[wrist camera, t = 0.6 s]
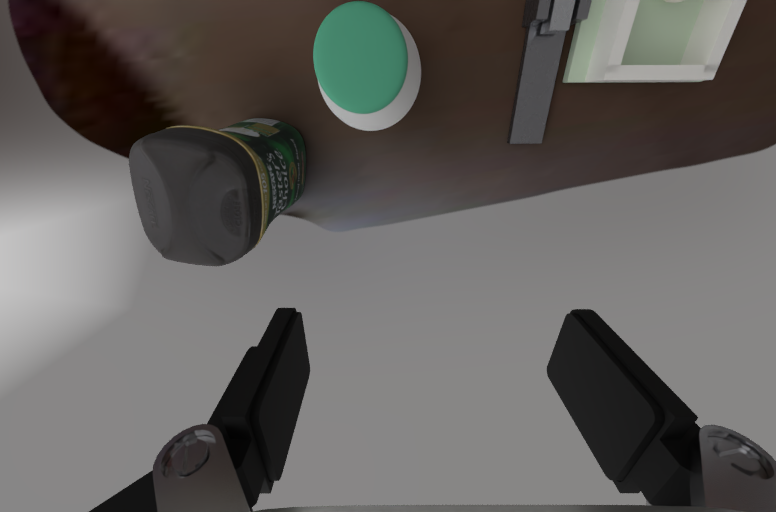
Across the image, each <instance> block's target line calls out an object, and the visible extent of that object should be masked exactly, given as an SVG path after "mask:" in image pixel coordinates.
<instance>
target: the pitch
mask: <svg viewBox="0 0 776 512" xmlns="http://www.w3.org/2000/svg"><path fill="white" fill-rule="evenodd" d="M703 1H704V0H685V1H681V2H677V3H669V2H665V1H663V0H640V2H639V5H638V8H637V12H636V15H635V19H634V22H633V25H632V29H631V32H630V35H629V39H628V42H627V45H626V49H625V52H624V55H623V59H622V62H621V65H680V62H681V60H682V57H683V54H684V52H685V49H686V46H687V44H688V41H689V38H690V36H691V33H692V30H693V28H694V25H695V22H696V20H697V17H698V14H699V12H700V9H701V6H702V4H703ZM605 2H606V0H592V2H591V6H590V10H589V14H588V18H587V19H586V20H584V21H581V22H579V23H576V25H575V29H574V34H573V38H572V43H571V47H570V51H569V56H568V60H567V64H566V69H565V73H564V77H563V82H562V83H604V82H585V79H586V75H587V71H588V67H589V63H590V60H591V56H592V52H593V48H594V44H595V40H596V36H597V33H598V29H599V25H600V21H601V17H602V13H603V9H604V5H605ZM686 82H702V80H701V81H686Z"/></svg>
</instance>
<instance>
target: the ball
mask: <svg viewBox="0 0 776 512" xmlns="http://www.w3.org/2000/svg"><path fill="white" fill-rule="evenodd" d="M663 1H665V2H669V3H677V2H681V1H685V0H663Z"/></svg>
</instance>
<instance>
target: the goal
mask: <svg viewBox="0 0 776 512" xmlns="http://www.w3.org/2000/svg"><path fill="white" fill-rule="evenodd" d="M746 1H747V0H704V1H703V4H702V6H701V9H700V12H699V14H698V17H697V20H696V22H695V25H694V28H693V30H692V33H691V36H690V38H689V41H688V44H687V46H686V49H685V52H684V54H683V57H682V60H681V62H680V65H621V62H622V59H623V55H624V52H625V49H626V45H627V42H628V39H629V35H630V32H631V29H632V25H633V22H634V19H635V15H636V12H637V8H638V5H639V2H640V0H606V2H605V5H604V9H603V13H602V17H601V21H600V25H599V29H598V33H597V36H596V40H595V44H594V48H593V52H592V56H591V60H590V63H589V67H588V71H587V75H586V79H585V82H686V81H701V80H713V78H714V76H715V74H716V71H717V69H718V67H719V64H720V62H721V59H722V57H723V55H724V52H725V50H726V48H727V45H728V43H729V41H730V38H731V36H732V34H733V31H734V29H735V27H736V24H737V22H738V20H739V17H740V15H741V13H742V10H743V8H744V6H745V3H746Z"/></svg>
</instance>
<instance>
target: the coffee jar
mask: <svg viewBox="0 0 776 512" xmlns="http://www.w3.org/2000/svg"><path fill="white" fill-rule="evenodd" d="M129 166H130V173H131V179H132V185H133V190H134V195H135V199H136V203H137V208H138V211H139V215H140V218H141V222H142V225H143V227H144V231H145V233H146V235H147V237H148V239H149V240H150V242H151V243H152V244H153V246H154V247H155V248H156V249H157V250H158V251H159V252H160V253H161V254H162V256H163V257H164V258H166V259H169V260H173V261H177V262H183V263H188V264H195V265H206V266H222V265H226V264H229V263H231V262H234V261H236V260H238V259H239V258H241V257H243V255H245V254H247V253H248V252H249V251H250V250H252V249H253V248H255V246H256V245H257V244H258V243H259V241H260V240H261V238H262V236H263V234H264V233H265V231H266V229H267V228H268V226H269V224H270V223H271V222H272V221H273V219H274V218H276V217H277V216H278V215H279V214H280V213H282V212H283V211H284V210H285V209H287V208H288V207H290V206H291V205H293V204H294V203H295V202H296V201H297V200H298V199H299V198H300V197H301V195H302V193H303V189H304V184H305V176H306V153H305V145H304V141H303V138H302V137H301V135H300V133H299V132H298V131H297V130H296V129H295V128H294V127H292V126H291V125H289V124H286V123H284V122H280V121H277V120H272V119H264V118H255V119H248V120H245V121H242V122H239V123H236V124H233V125H231V126H228V127H226V128H223V129H219V130H216V129H212V128H208V127H201V126H174V127H169V128H167V129H164V130H162V131H159V132H156V133H153V134H149V135H147V136H145V137H143V138H141V139H139V140H138V141H137V142H135V143H134V145H133V146H132V148H131V151H130V155H129Z"/></svg>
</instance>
